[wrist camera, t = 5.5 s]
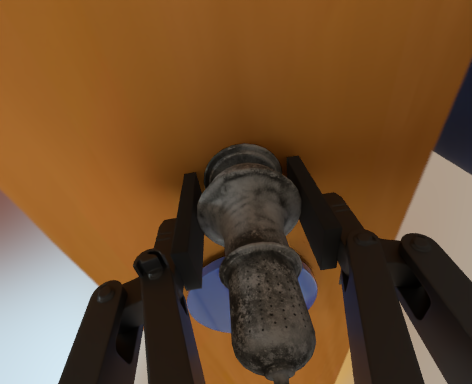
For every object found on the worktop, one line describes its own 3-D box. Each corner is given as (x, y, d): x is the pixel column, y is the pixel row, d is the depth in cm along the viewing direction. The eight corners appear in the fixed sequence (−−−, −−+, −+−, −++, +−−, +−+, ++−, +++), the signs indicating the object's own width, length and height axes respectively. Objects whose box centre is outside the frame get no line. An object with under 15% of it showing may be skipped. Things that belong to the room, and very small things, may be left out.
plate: (338, 274, 24) (344, 288, 23) (258, 329, 29) (260, 343, 28) (239, 224, 19) (241, 238, 18) (165, 300, 24) (162, 316, 23)
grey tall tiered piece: (225, 122, 14) (255, 352, 4) (304, 163, 16) (441, 383, 7) (185, 195, 17) (148, 436, 7) (256, 223, 19) (302, 440, 9)
